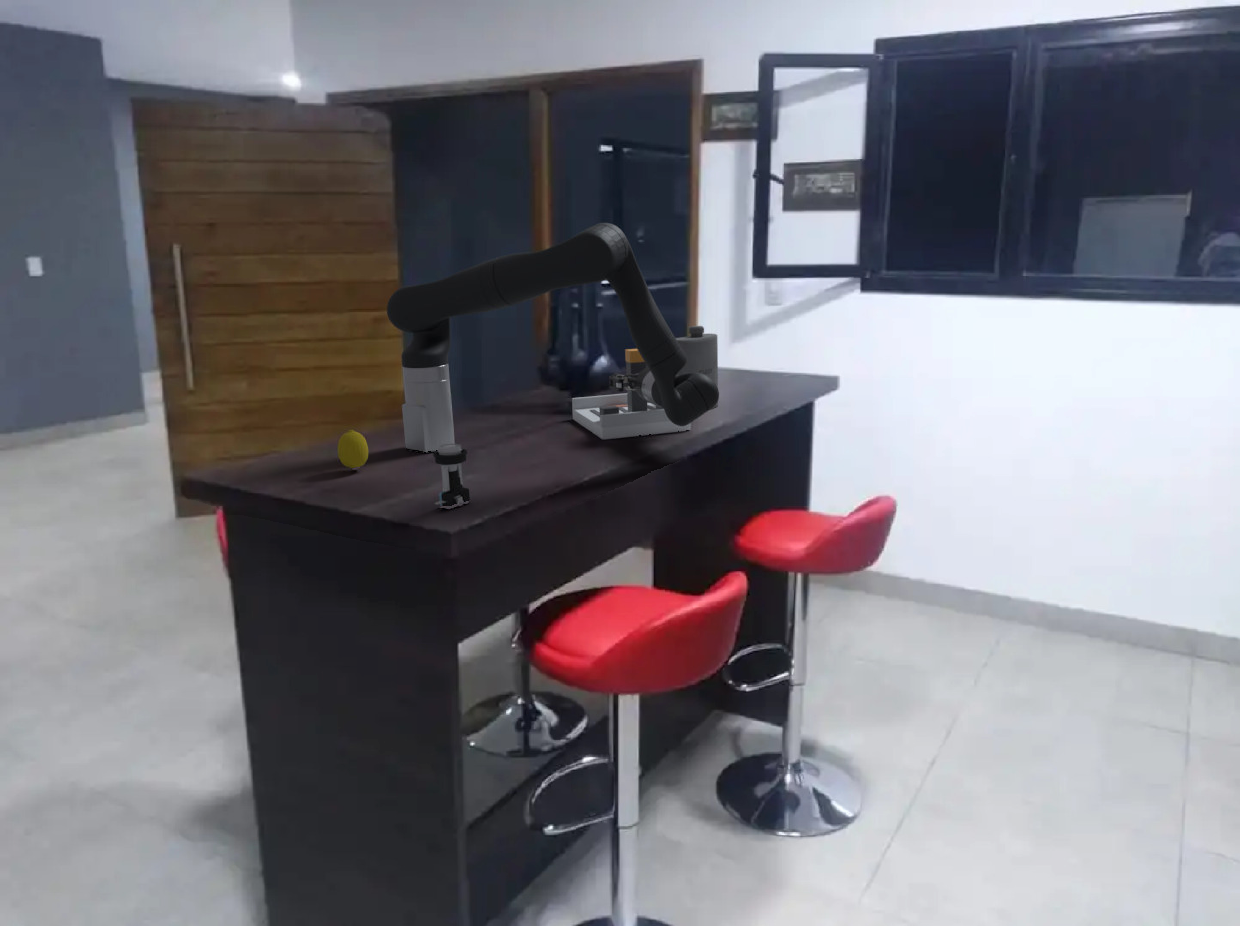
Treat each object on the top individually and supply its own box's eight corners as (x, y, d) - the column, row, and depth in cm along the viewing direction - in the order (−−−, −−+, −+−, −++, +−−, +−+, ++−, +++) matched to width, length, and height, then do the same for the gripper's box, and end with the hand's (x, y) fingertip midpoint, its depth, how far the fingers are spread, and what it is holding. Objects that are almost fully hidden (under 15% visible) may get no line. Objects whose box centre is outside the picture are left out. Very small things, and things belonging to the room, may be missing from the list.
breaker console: (691, 430, 196) (690, 405, 195) (602, 439, 191) (601, 413, 189) (653, 411, 219) (652, 388, 217) (572, 419, 213) (571, 396, 211)
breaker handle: (648, 416, 197) (646, 349, 194) (632, 418, 196) (629, 351, 193) (643, 413, 200) (641, 348, 197) (627, 415, 199) (625, 349, 196)
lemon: (345, 467, 174) (341, 427, 172) (374, 467, 174) (369, 426, 172) (336, 475, 169) (331, 433, 167) (365, 474, 169) (360, 432, 167)
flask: (687, 416, 212) (686, 330, 207) (668, 413, 216) (666, 329, 211) (724, 405, 223) (724, 323, 218) (705, 403, 226) (704, 322, 221)
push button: (448, 515, 142) (442, 453, 140) (424, 510, 145) (419, 449, 143) (478, 504, 147) (473, 444, 145) (454, 499, 150) (450, 441, 148)
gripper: (692, 365, 184) (663, 356, 199) (625, 371, 180) (601, 361, 195) (692, 402, 186) (664, 390, 201) (626, 408, 182) (603, 396, 197)
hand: (633, 376), depth 198 cm, fingers open, 8 cm apart
